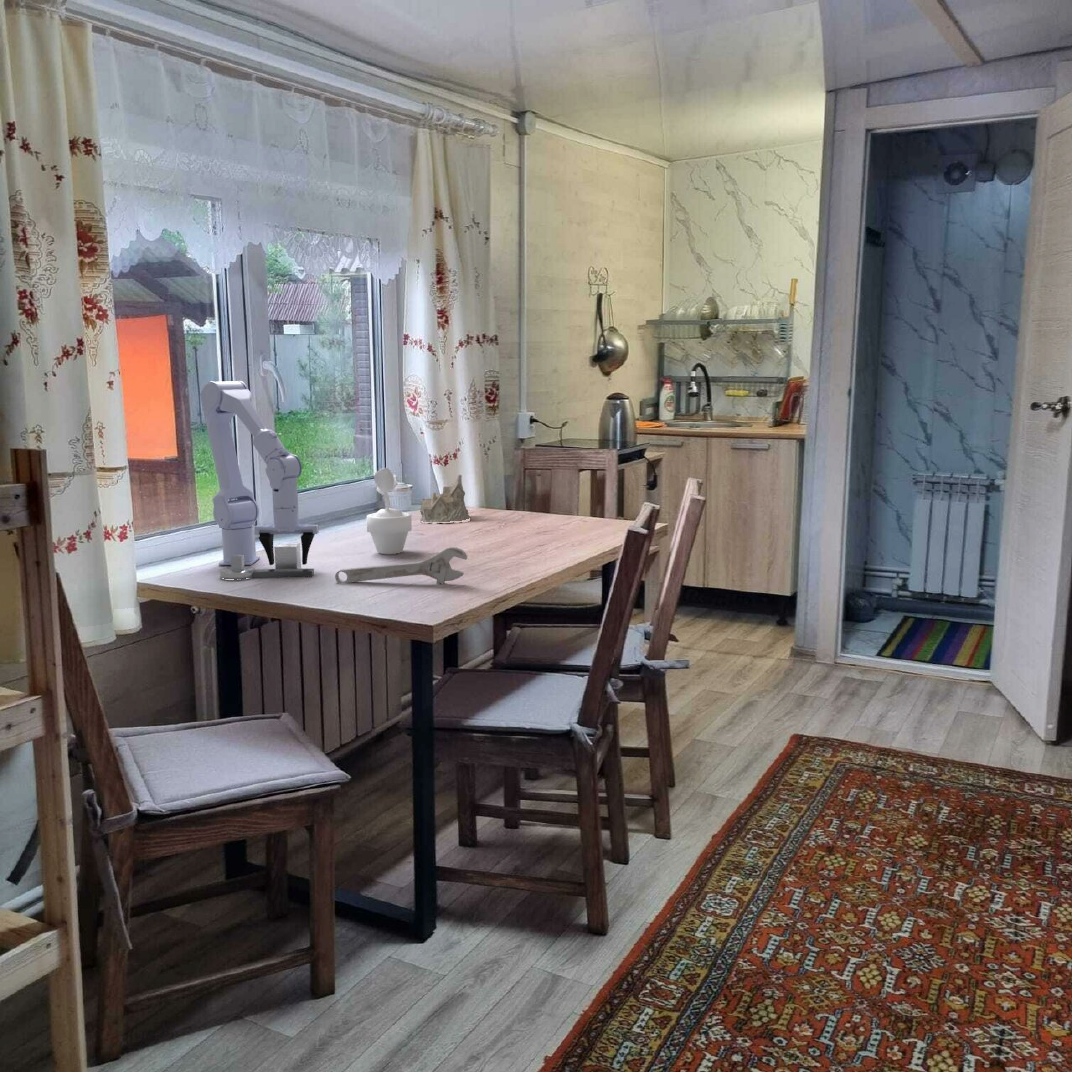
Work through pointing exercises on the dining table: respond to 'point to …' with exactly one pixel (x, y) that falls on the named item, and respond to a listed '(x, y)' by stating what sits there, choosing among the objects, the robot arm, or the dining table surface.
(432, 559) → the wrench
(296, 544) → the brushed metal cube
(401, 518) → the potted plant
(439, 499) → the ceramic cottage
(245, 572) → the ratchet
